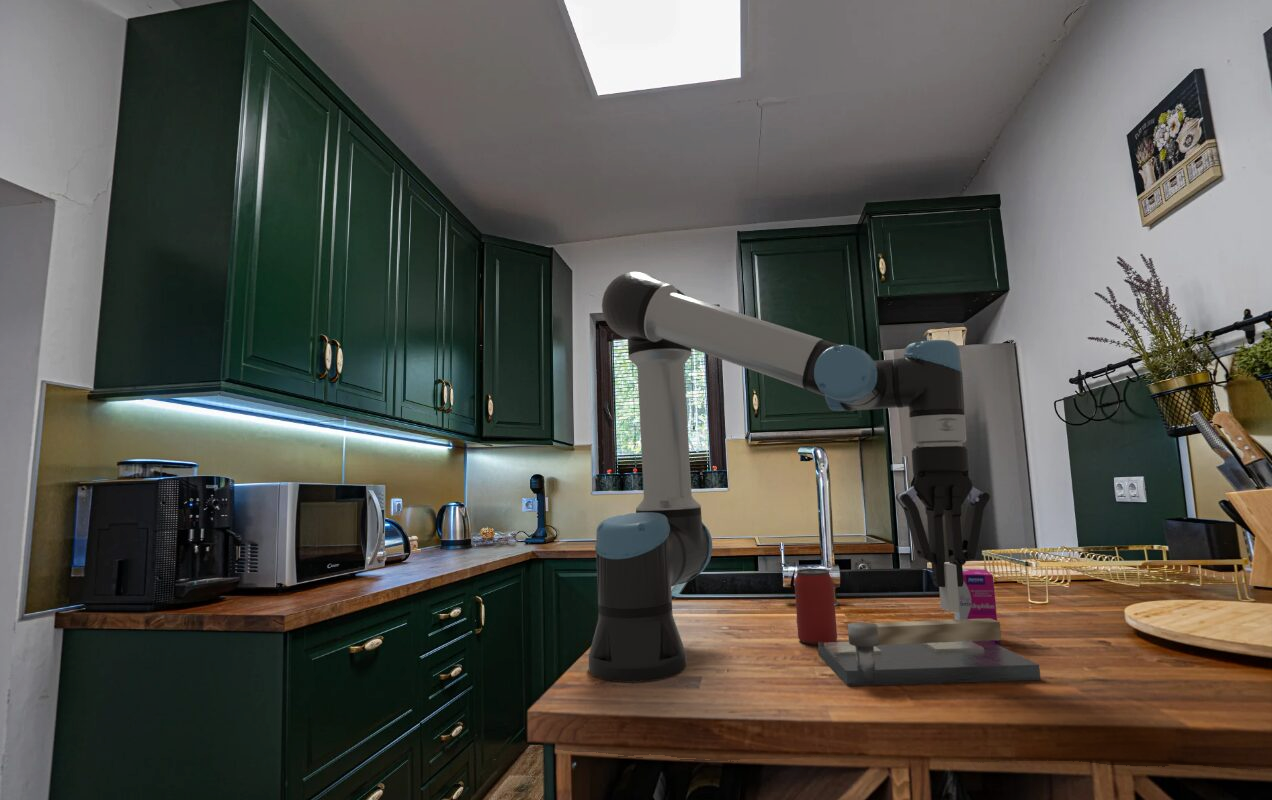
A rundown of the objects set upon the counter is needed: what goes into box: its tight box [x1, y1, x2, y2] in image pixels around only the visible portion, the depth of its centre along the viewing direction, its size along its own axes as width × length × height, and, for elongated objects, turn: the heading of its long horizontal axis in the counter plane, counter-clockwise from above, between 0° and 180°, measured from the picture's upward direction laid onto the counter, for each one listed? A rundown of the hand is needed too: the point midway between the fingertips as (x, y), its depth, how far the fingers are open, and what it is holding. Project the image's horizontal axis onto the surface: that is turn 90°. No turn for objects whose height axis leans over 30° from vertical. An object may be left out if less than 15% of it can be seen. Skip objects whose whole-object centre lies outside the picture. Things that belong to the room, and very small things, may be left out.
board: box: [817, 640, 1042, 687], centre depth 98 cm, size 26×16×2 cm, turn 88°
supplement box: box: [953, 568, 1000, 646], centre depth 112 cm, size 6×6×12 cm
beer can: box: [794, 568, 838, 646], centre depth 116 cm, size 7×7×12 cm
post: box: [855, 646, 875, 687], centre depth 92 cm, size 2×2×5 cm
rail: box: [847, 618, 1002, 647], centre depth 92 cm, size 20×4×2 cm, turn 90°
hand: (949, 609), depth 95 cm, fingers closed
